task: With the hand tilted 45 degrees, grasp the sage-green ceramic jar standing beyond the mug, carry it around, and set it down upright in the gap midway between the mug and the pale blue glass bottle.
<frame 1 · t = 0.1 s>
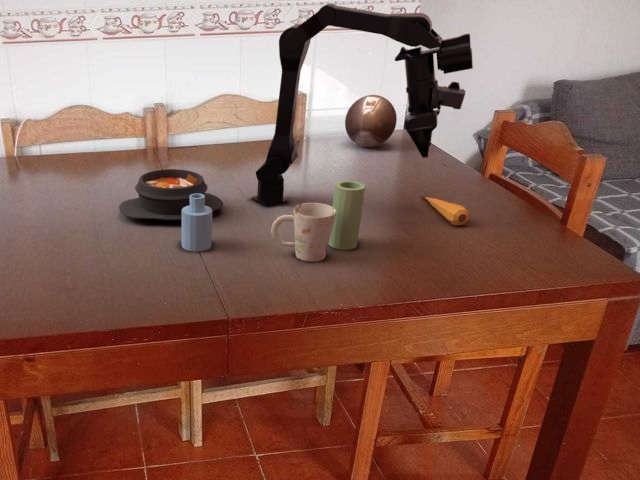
hand: (426, 151, 154), 15 cm above the table, tool pointing down, fingers open, 9 cm apart
bronze metallic sphere: (367, 147, 214), on the table
bottle: (196, 245, 149), on the table
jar: (342, 244, 149), on the table
mug: (299, 256, 145), on the table
casserole: (171, 213, 166), on the table
carrot: (442, 212, 166), on the table
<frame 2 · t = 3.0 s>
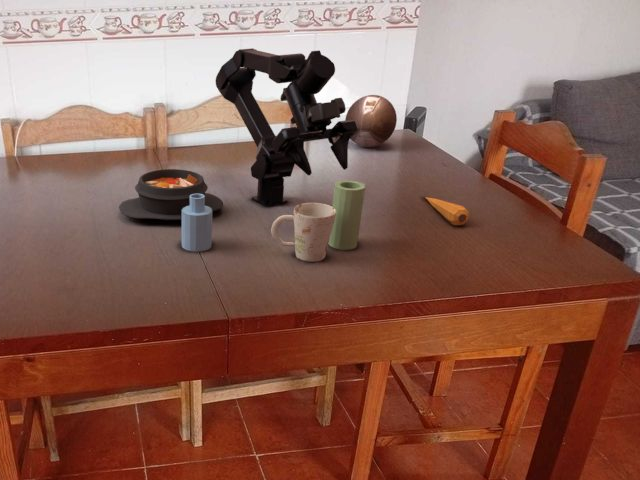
hand: (328, 171, 148), 14 cm above the table, tool tilted 45°, fingers open, 9 cm apart
nothing on the table moved.
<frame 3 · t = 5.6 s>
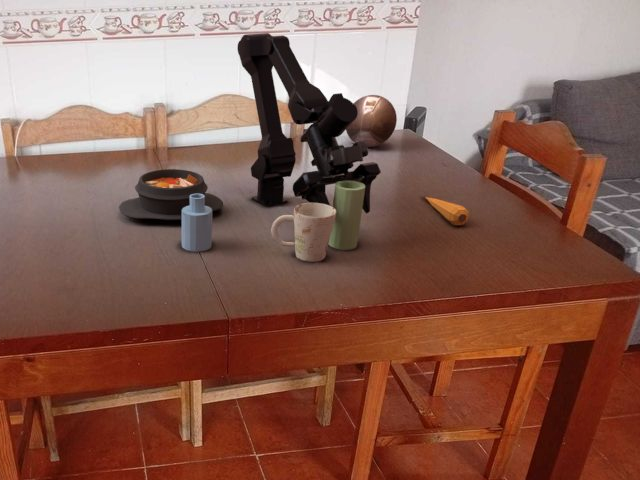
hand: (350, 215, 145), 7 cm above the table, tool tilted 45°, fingers open, 9 cm apart
mug: (299, 256, 145), on the table, touching gripper
everything else where it was.
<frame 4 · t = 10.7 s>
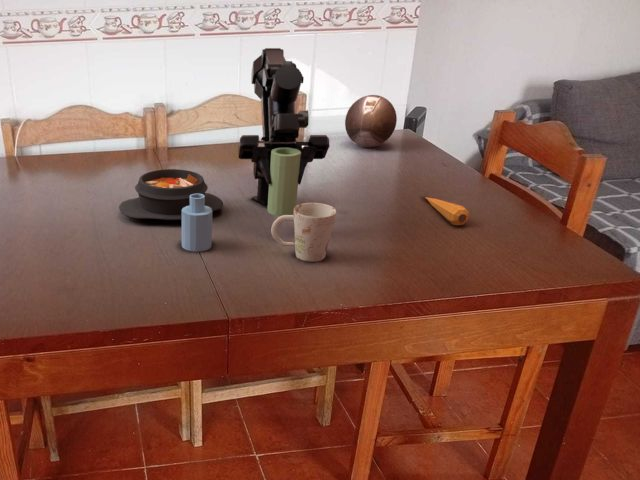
hand: (284, 183, 147), 12 cm above the table, tool tilted 45°, fingers closed on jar, 6 cm apart
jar: (281, 211, 151), point 5 cm above the table, touching gripper
mug: (299, 256, 145), on the table
everything else where it was.
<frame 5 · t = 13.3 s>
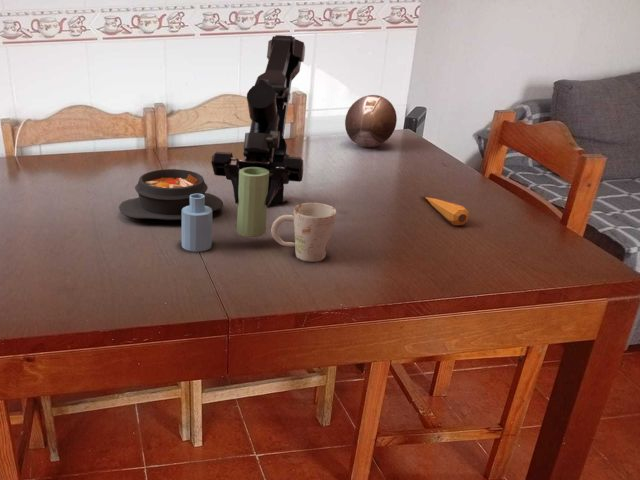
hand: (251, 203, 143), 9 cm above the table, tool tilted 45°, fingers closed on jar, 6 cm apart
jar: (251, 231, 148), point 3 cm above the table, touching gripper
everything else where it was.
when the fingers open (7 cm above the table, at t = 15.3 s): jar stays where it is, on the table.
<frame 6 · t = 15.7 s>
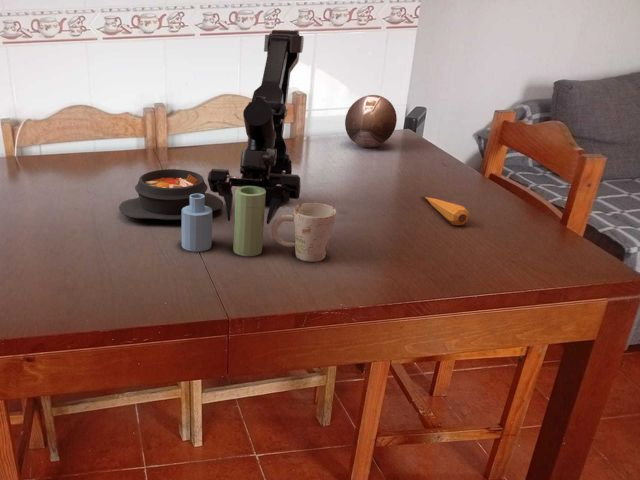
hand: (248, 221, 142), 7 cm above the table, tool tilted 45°, fingers open, 8 cm apart
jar: (247, 250, 147), on the table
everything else where it was.
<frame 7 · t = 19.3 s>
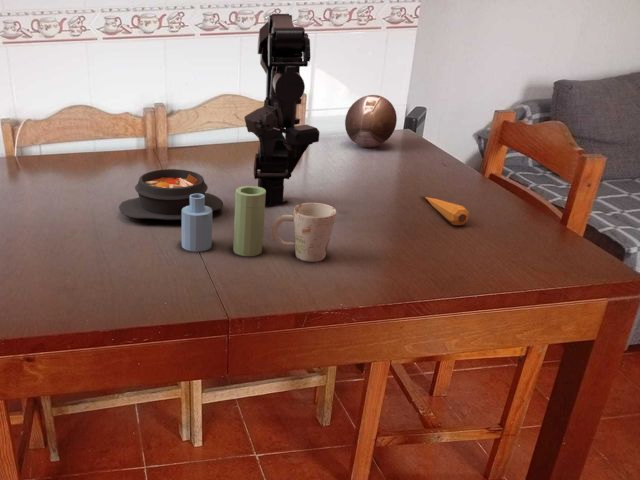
hand: (278, 167, 153), 13 cm above the table, tool pointing down, fingers open, 8 cm apart
nothing on the table moved.
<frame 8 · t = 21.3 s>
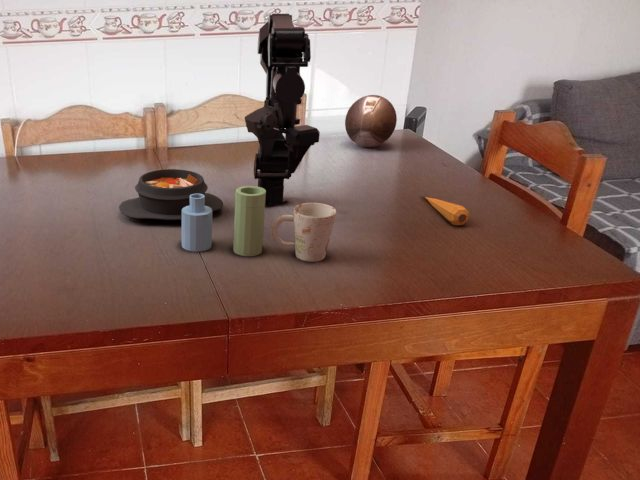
hand: (278, 167, 153), 13 cm above the table, tool pointing down, fingers open, 9 cm apart
nothing on the table moved.
at the end: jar 0.1 cm from the target spot, on the table; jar tilted 0°; the gripper is holding nothing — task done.
